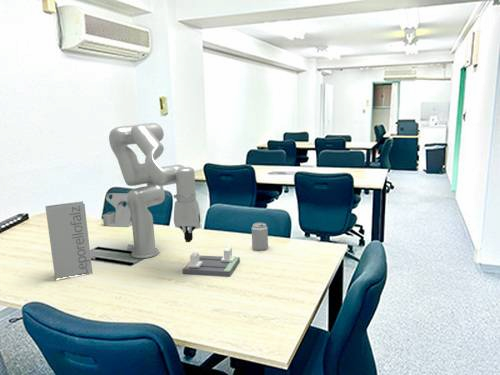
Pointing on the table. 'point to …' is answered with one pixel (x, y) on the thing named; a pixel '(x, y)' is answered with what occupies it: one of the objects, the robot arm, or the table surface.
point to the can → (259, 236)
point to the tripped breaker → (194, 261)
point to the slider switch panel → (213, 266)
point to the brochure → (69, 239)
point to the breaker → (228, 255)
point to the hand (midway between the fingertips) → (188, 241)
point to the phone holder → (118, 211)
